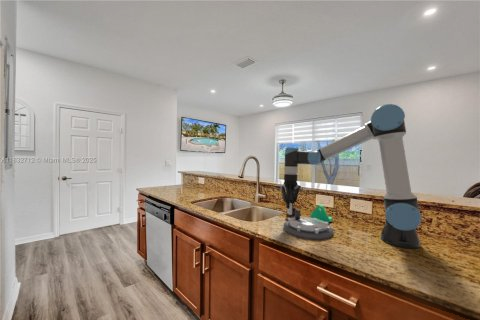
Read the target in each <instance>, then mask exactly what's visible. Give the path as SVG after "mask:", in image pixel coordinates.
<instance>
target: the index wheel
mask: <svg viewBox="0 0 480 320" xmlns="http://www.w3.org/2000/svg"><path fill="white" fill-rule="evenodd" d="M300 214H301V209H297V208H296V210H295V217H291V218H289V217H287V221H288V222H287V221H286V222H287V226H290V227H291V228H293V229H295V230H297V231H299V232H300V231H302V232H309V233H315V234H318V233H322V232H326V231H328V232H329V231H330V227H331V226H330V227H328V226H329V222H324V221H322V220H319V219H317V218H310V216H309V217H307V216H302V215H301V216H300Z"/></svg>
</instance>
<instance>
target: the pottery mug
mask: <svg viewBox="0 0 480 320" xmlns="http://www.w3.org/2000/svg"><path fill="white" fill-rule="evenodd" d="M296 209H297V208H296V207H293V209H292V215H289V214H287V210H286V211H285V213H286V214H285V217H286V218H294V217H295V210H296ZM300 216H301V217H302V215H301V213H300Z"/></svg>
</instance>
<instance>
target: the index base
mask: <svg viewBox="0 0 480 320" xmlns="http://www.w3.org/2000/svg"><path fill="white" fill-rule="evenodd" d="M287 222H288V220H287V221H285V222H284V223H283V230H284V231H285V232H286V233H287V234H289V235H290V236H294V237H297V238H301V239H306V240H313V241H314V240H316V241H317V240H319V241H320V240H321V241H322V240H327V239H330V238H332V237H333V236H334V228H332V227H331V226H330V225H328V227H330V231H329V232H328V231H326V232H322V233H318V234H315V233H309V232H302V231H300V232H299V231H297V230H295V229H293V228H291V227H290V226H287Z"/></svg>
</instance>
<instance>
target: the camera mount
mask: <svg viewBox="0 0 480 320" xmlns="http://www.w3.org/2000/svg"><path fill="white" fill-rule="evenodd" d="M309 218H317V219H319V220H322V221H324V222H328V223H330V222H331V221H333V217H332V216H329V215H328V213H327V212H326V209H325V206H324V205H322V204H319V205H318V206H316V207H315V209H314V210H313V211H312V213H311V214H310V215H309Z"/></svg>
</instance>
